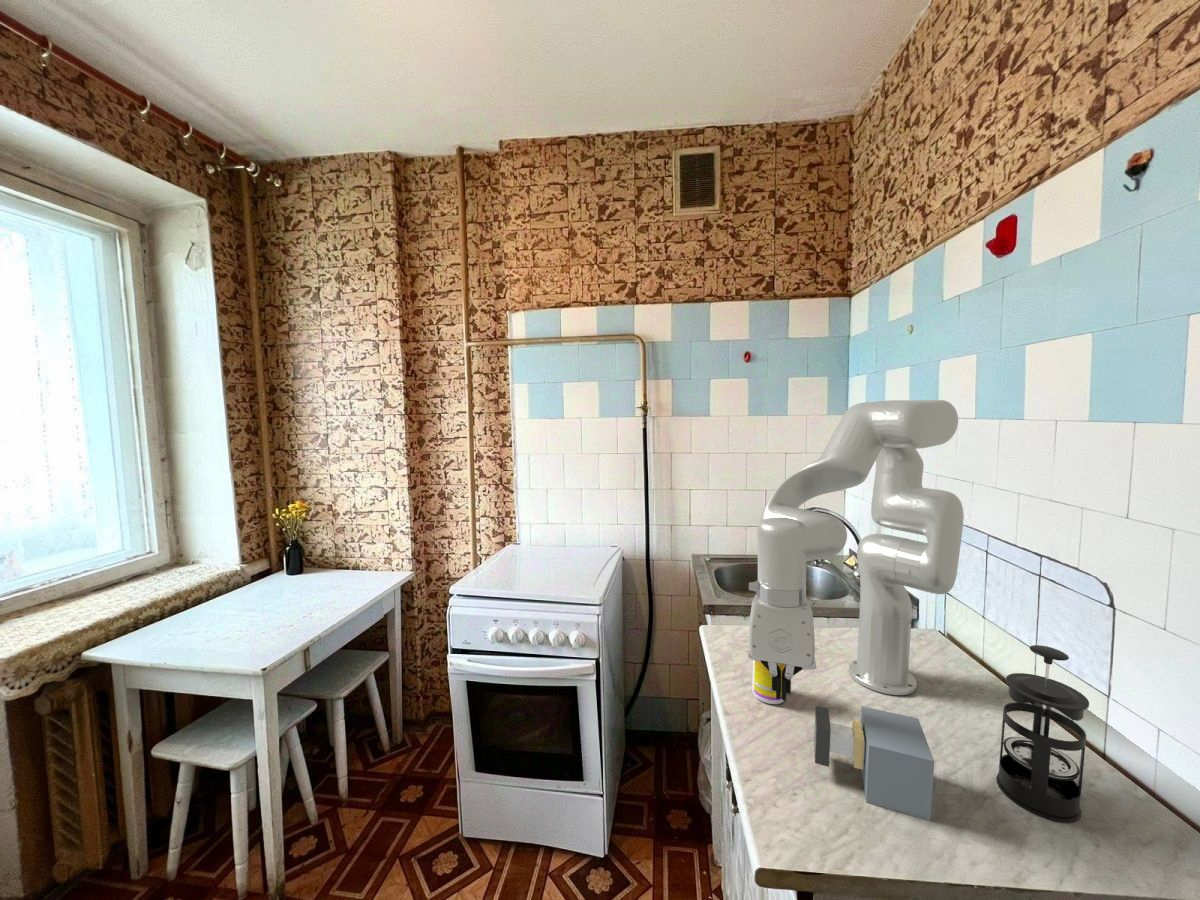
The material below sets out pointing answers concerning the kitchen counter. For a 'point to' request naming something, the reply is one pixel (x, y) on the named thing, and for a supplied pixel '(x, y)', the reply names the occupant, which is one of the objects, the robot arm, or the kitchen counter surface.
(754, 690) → the supplement bottle
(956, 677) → the kitchen counter surface
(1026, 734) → the french press
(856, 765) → the shaft
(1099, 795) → the kitchen counter surface
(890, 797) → the housing
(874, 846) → the kitchen counter surface
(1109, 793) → the kitchen counter surface
